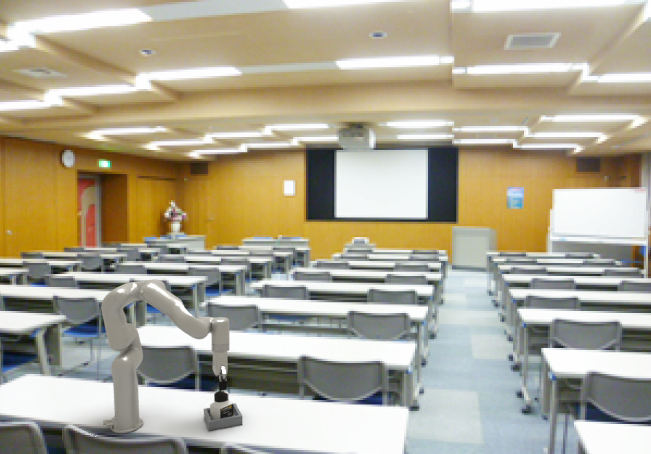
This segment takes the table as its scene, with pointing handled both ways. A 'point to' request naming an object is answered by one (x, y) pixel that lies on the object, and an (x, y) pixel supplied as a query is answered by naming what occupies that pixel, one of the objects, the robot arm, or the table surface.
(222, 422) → the box
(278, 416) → the table surface
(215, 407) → the medicine bottle
